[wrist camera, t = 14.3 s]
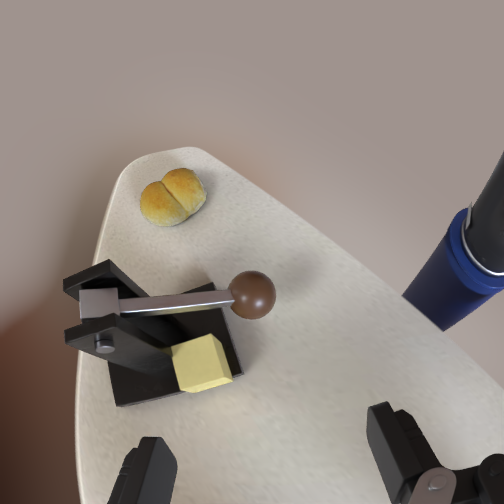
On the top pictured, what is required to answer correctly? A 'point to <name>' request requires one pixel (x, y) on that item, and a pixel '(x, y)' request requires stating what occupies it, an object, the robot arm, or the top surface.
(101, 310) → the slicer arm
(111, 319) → the slicer
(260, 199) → the top surface
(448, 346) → the top surface
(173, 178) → the bread roll
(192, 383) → the butter
